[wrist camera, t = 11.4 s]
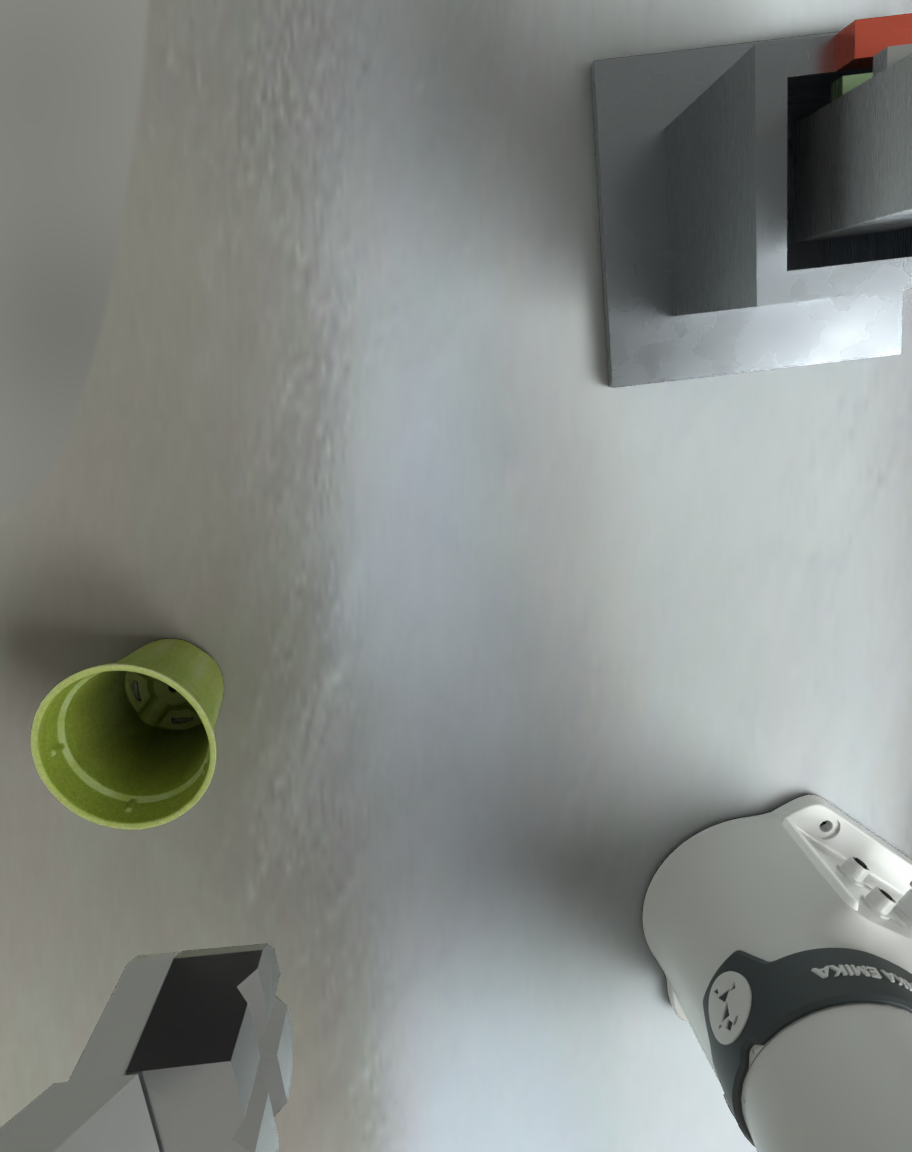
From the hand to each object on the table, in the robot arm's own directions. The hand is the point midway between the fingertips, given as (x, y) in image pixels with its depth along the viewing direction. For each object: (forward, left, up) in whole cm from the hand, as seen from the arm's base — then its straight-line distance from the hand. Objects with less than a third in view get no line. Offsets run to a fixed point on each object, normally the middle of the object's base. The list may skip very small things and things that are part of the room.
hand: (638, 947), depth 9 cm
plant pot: (+11, +20, -39) cm, 45 cm away
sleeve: (-8, -18, -39) cm, 44 cm away
